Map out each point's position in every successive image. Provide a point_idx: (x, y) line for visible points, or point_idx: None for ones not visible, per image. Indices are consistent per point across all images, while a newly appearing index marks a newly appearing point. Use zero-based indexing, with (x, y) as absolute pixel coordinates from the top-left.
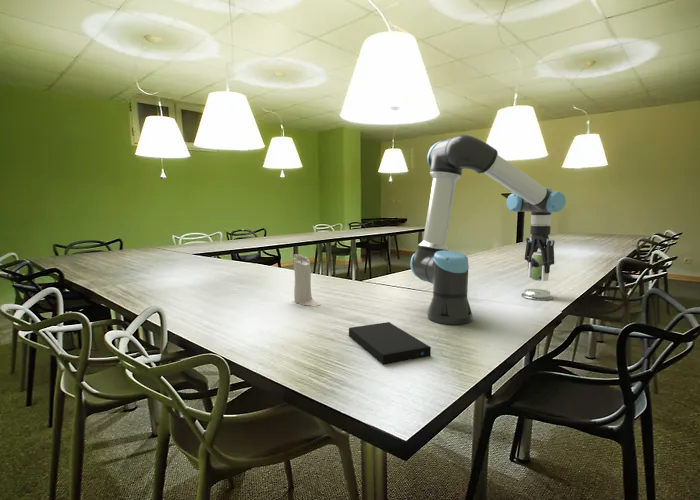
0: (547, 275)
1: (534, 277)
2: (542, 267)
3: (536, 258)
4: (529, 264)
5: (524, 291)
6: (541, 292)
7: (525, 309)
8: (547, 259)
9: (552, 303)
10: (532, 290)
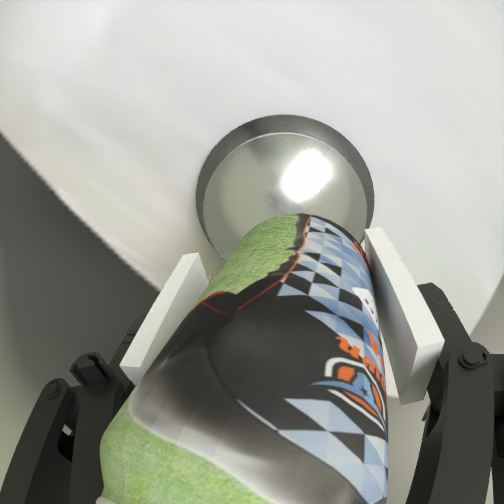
0: None
1: (257, 229)
2: (146, 345)
3: (116, 426)
4: (419, 322)
5: (313, 138)
6: (248, 226)
7: (56, 43)
8: (43, 429)
9: (144, 210)
10: (315, 201)
